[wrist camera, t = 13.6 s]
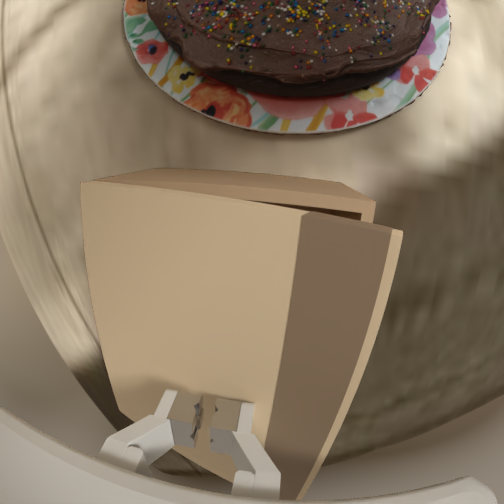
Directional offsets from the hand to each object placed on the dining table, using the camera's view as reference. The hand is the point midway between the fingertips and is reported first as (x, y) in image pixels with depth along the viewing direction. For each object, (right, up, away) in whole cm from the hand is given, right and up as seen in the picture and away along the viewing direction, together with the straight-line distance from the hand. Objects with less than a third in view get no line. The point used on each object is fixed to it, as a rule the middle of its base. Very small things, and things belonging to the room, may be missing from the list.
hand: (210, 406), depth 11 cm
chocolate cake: (+5, +28, +6) cm, 29 cm away
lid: (-1, +1, +2) cm, 2 cm away
